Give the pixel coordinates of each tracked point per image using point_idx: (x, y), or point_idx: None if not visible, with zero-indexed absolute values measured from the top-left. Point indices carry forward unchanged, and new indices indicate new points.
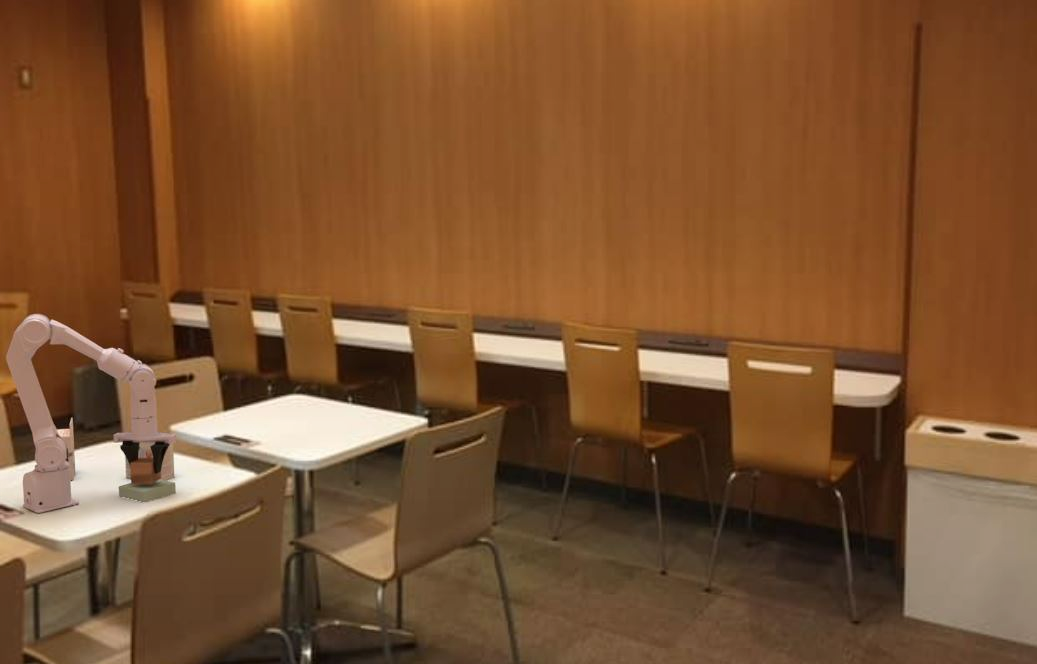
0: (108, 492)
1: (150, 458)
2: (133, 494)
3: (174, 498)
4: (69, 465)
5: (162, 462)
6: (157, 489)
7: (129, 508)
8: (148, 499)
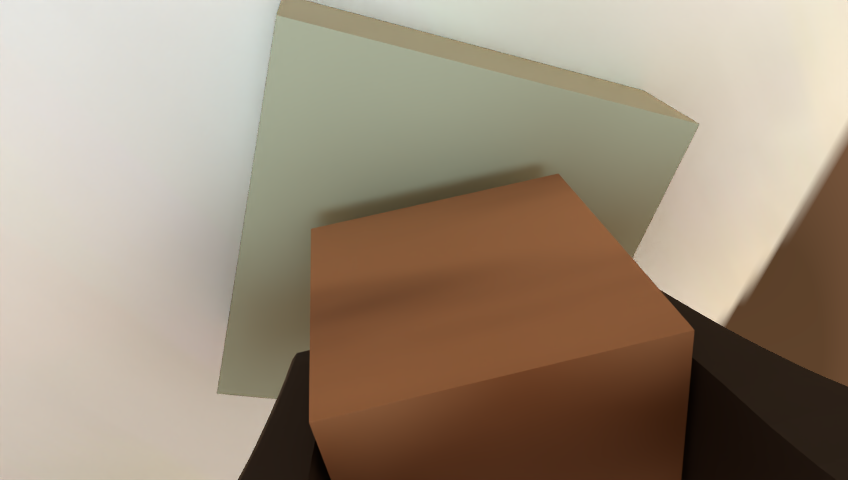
0: (17, 271)
1: (534, 401)
2: None
3: (693, 219)
4: None
5: (722, 329)
6: None
7: None
8: None
